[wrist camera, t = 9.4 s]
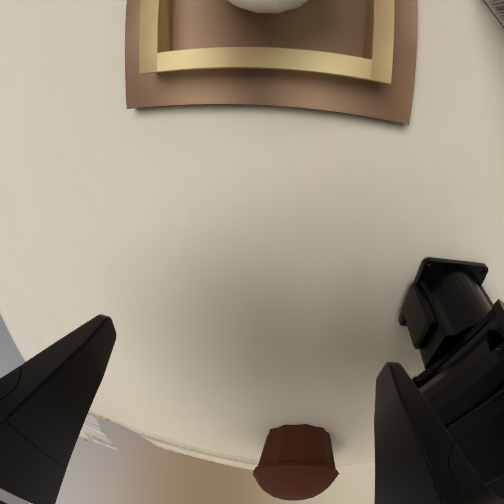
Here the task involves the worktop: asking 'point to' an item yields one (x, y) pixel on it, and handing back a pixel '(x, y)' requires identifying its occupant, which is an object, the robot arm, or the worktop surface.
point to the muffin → (296, 462)
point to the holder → (274, 55)
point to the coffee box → (497, 9)
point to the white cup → (268, 5)
